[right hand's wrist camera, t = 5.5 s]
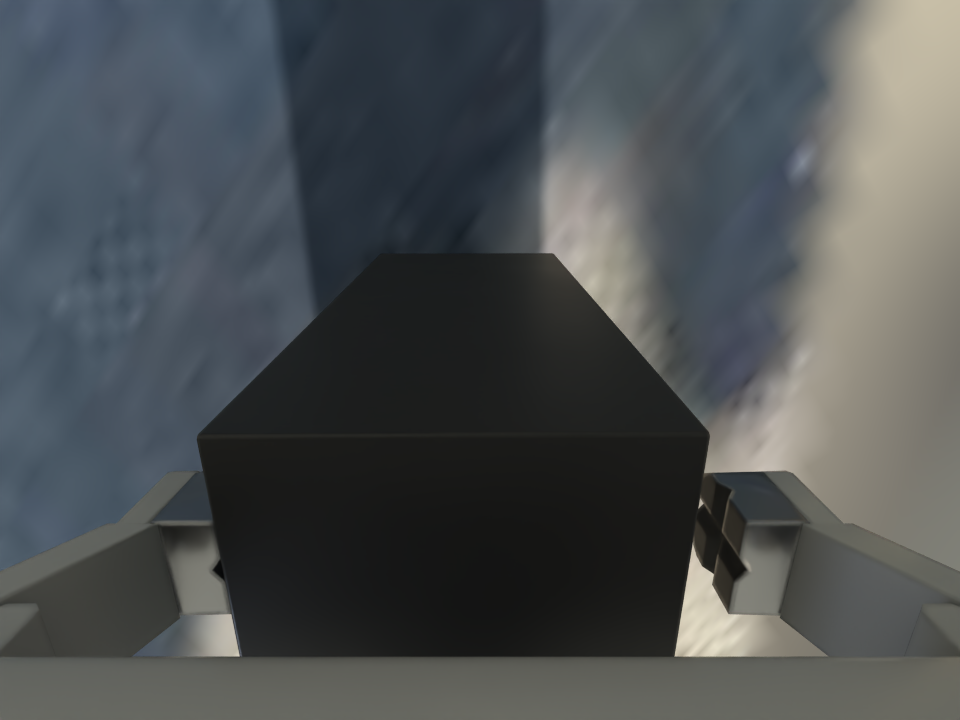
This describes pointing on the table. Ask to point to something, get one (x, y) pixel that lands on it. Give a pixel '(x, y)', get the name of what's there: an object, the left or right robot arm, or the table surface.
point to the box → (456, 474)
